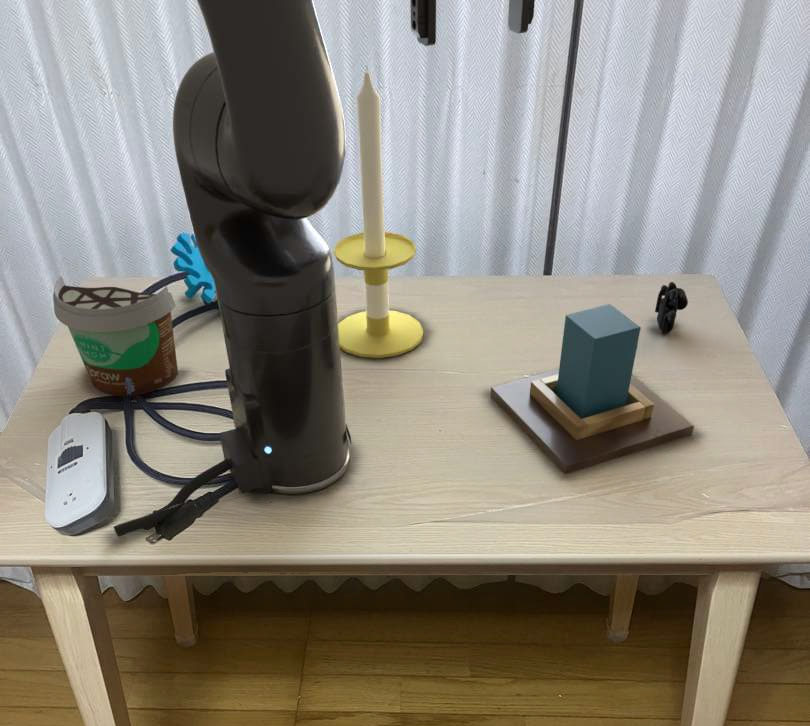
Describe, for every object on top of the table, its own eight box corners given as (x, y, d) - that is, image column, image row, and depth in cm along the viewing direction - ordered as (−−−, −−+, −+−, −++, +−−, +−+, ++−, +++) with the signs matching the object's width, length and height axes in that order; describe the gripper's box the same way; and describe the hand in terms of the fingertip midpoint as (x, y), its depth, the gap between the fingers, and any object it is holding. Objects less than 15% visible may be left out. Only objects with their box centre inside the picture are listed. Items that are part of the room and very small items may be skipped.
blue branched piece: (224, 313, 96) (160, 241, 94) (195, 343, 99) (133, 273, 97) (270, 282, 104) (212, 215, 102) (242, 310, 108) (186, 246, 106)
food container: (54, 395, 88) (22, 305, 81) (83, 363, 92) (56, 275, 85) (167, 409, 86) (144, 318, 79) (191, 375, 90) (172, 286, 83)
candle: (400, 304, 100) (395, 44, 82) (438, 344, 94) (441, 71, 75) (320, 324, 97) (295, 58, 79) (353, 366, 91) (334, 88, 72)
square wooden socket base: (565, 474, 77) (568, 452, 75) (490, 395, 86) (491, 374, 85) (692, 434, 81) (698, 412, 79) (607, 362, 90) (611, 341, 89)
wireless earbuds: (652, 312, 98) (660, 270, 95) (674, 313, 98) (684, 271, 94) (661, 344, 93) (670, 301, 89) (684, 345, 93) (694, 302, 89)
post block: (582, 424, 81) (595, 339, 75) (555, 398, 84) (565, 314, 78) (625, 411, 82) (641, 327, 76) (596, 386, 85) (610, 303, 79)
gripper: (411, -219, 56) (413, 60, 67) (597, -226, 60) (570, 37, 71) (366, -222, 61) (376, 37, 72) (541, -229, 65) (524, 17, 76)
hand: (472, 37), depth 71 cm, fingers open, 8 cm apart
